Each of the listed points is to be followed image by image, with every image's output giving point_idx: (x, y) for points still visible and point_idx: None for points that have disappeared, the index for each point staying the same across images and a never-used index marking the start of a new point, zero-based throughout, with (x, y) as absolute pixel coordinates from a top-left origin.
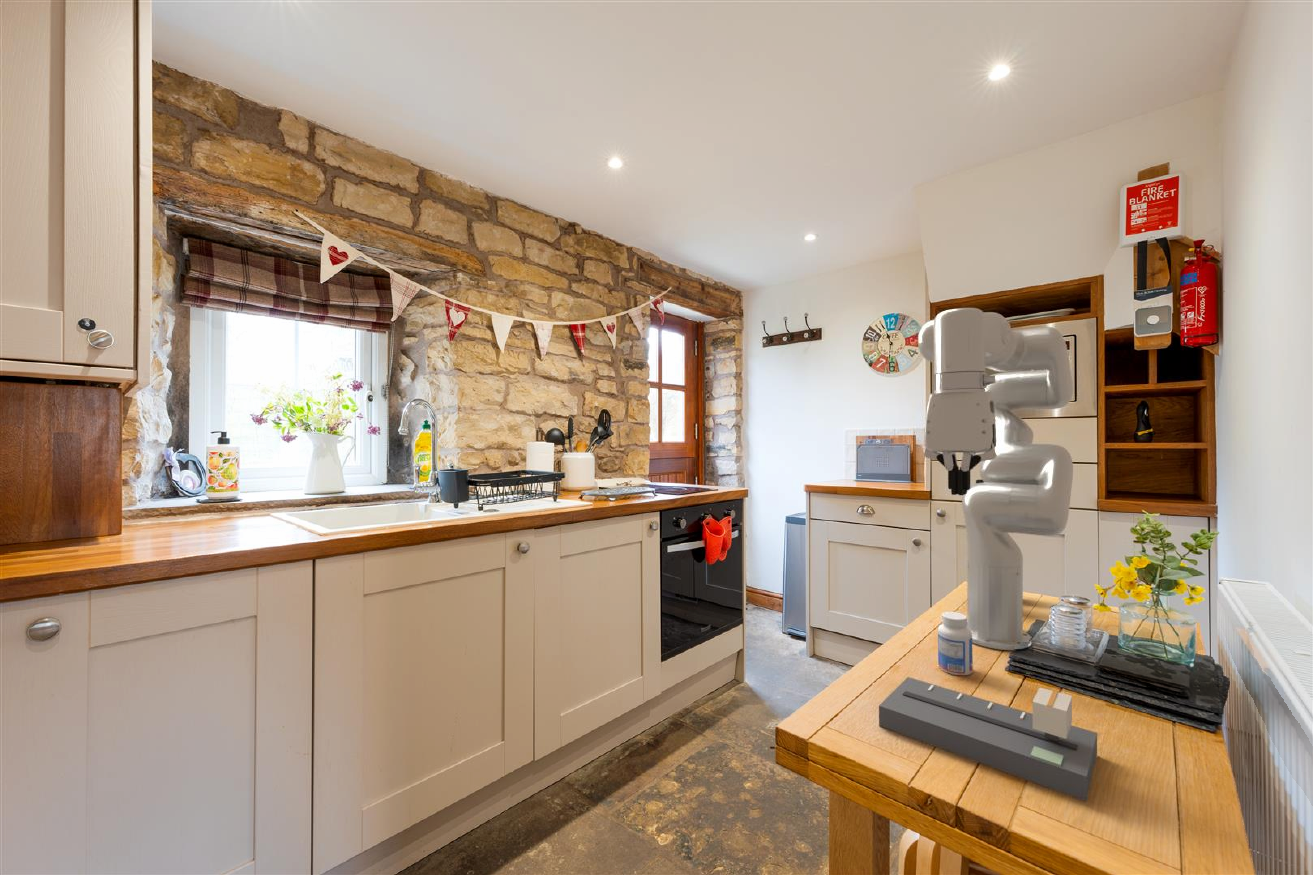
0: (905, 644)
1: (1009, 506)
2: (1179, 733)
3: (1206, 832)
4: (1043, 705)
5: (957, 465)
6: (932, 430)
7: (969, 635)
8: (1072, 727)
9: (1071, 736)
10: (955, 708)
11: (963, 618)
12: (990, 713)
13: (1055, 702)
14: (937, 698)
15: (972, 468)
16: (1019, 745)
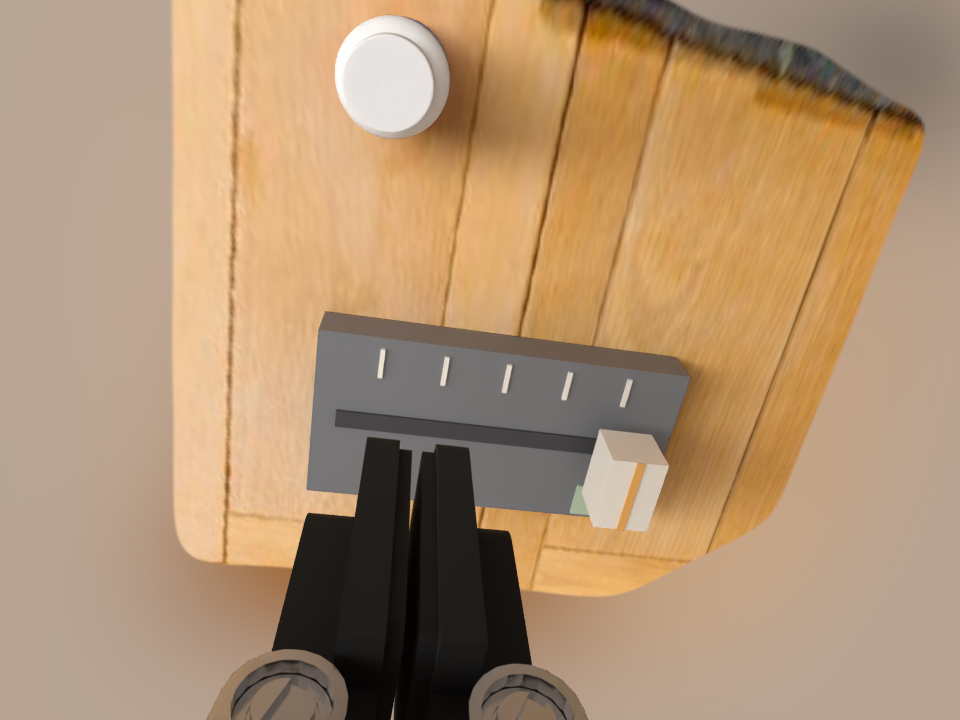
0: None
1: None
2: (861, 173)
3: (761, 480)
4: (610, 527)
5: (344, 717)
6: None
7: (443, 105)
8: (651, 380)
9: (643, 414)
10: (444, 430)
11: (423, 106)
12: (508, 407)
13: (633, 509)
14: (403, 400)
15: (570, 705)
16: (555, 490)
